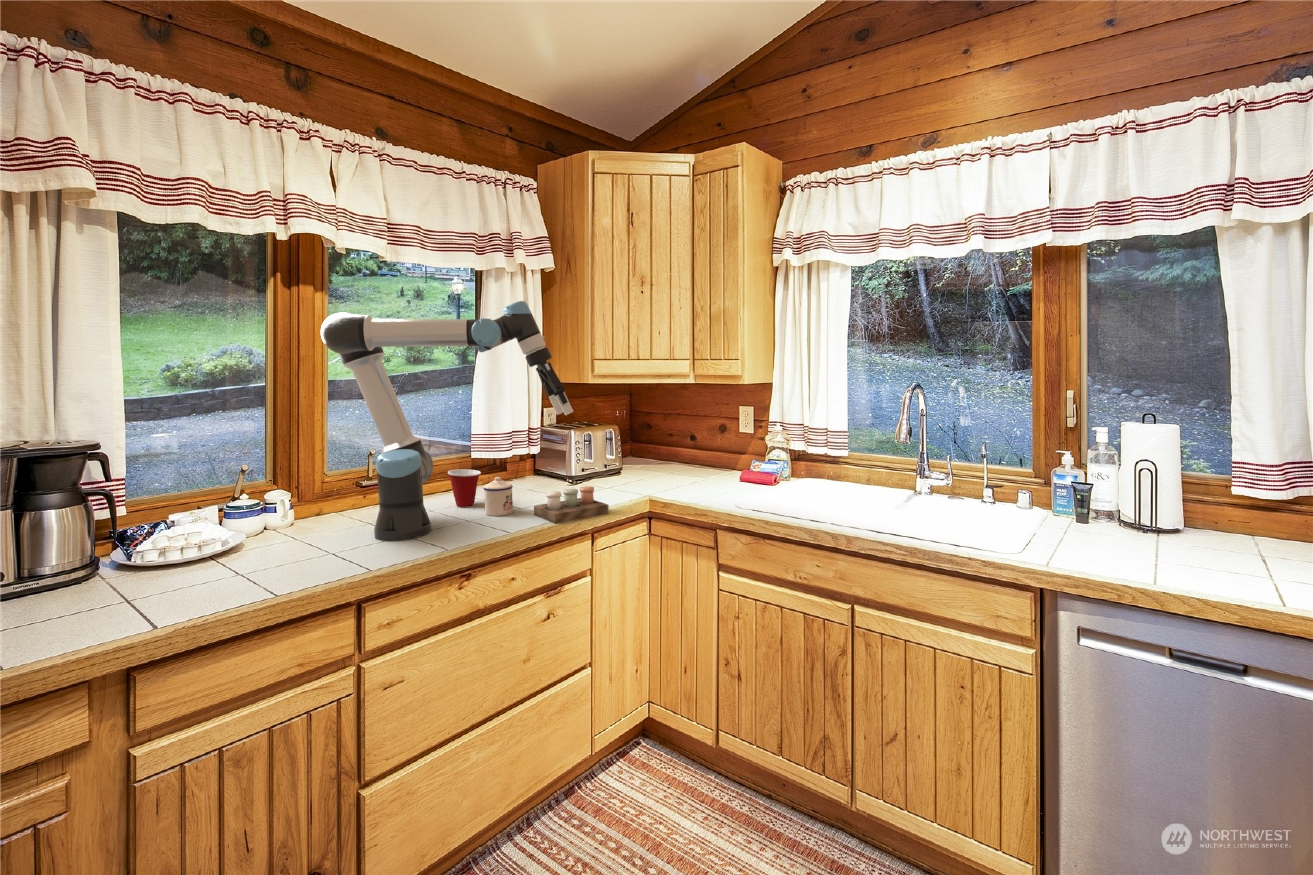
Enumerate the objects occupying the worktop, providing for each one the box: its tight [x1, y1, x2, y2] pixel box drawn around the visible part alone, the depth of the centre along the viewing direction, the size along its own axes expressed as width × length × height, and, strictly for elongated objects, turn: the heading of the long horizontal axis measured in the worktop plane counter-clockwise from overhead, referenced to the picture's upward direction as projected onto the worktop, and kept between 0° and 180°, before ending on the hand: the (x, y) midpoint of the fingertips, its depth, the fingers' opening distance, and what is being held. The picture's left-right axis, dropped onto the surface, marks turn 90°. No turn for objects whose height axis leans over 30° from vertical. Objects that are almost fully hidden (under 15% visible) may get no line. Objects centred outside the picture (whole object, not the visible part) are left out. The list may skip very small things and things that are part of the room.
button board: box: [533, 497, 609, 525], centre depth 195 cm, size 19×14×3 cm
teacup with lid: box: [483, 476, 514, 517], centre depth 199 cm, size 12×9×12 cm
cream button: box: [545, 490, 562, 511], centre depth 191 cm, size 5×5×5 cm
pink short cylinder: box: [579, 485, 595, 505], centre depth 199 cm, size 5×5×5 cm
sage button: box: [562, 488, 579, 508], centre depth 195 cm, size 5×5×5 cm
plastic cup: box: [447, 468, 482, 508], centre depth 209 cm, size 11×11×12 cm
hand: (565, 413), depth 193 cm, fingers open, 13 cm apart
